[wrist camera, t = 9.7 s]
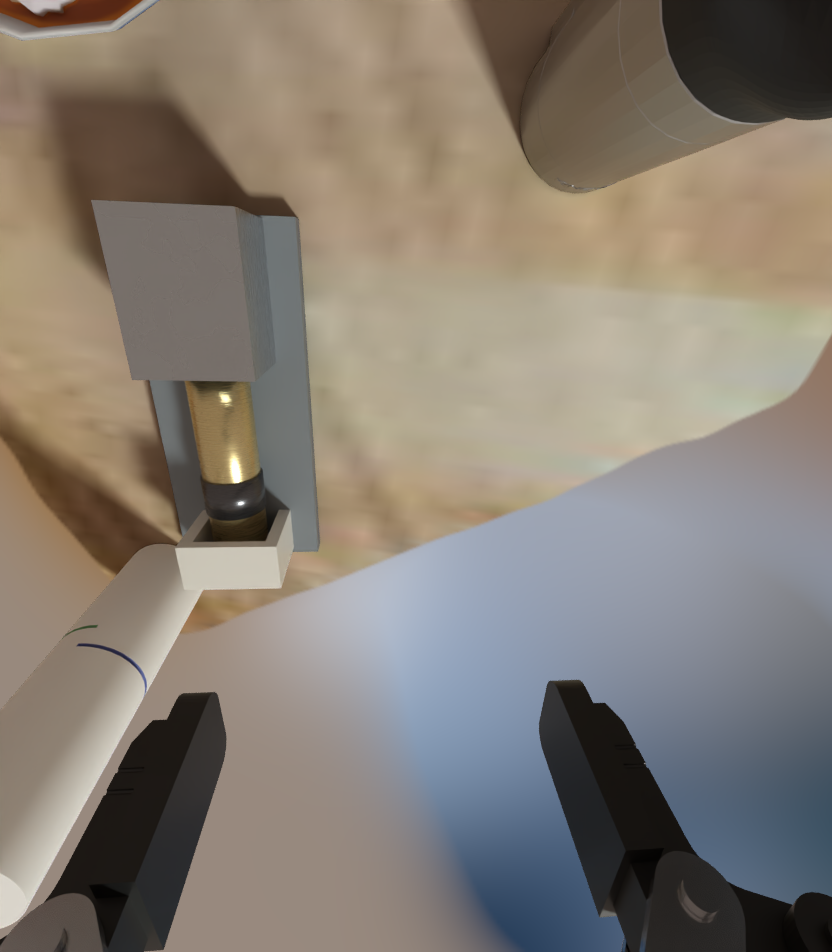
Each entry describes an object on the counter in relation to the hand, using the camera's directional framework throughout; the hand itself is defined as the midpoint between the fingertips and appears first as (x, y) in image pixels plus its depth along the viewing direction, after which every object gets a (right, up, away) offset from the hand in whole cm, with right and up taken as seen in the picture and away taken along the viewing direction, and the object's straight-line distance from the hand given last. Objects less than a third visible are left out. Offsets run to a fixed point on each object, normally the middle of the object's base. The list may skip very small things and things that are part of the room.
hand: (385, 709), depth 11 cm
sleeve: (-14, +19, +22) cm, 32 cm away
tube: (-14, +9, +26) cm, 31 cm away
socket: (-14, +1, +30) cm, 33 cm away
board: (-14, +12, +27) cm, 32 cm away
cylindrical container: (-24, -4, +33) cm, 41 cm away
